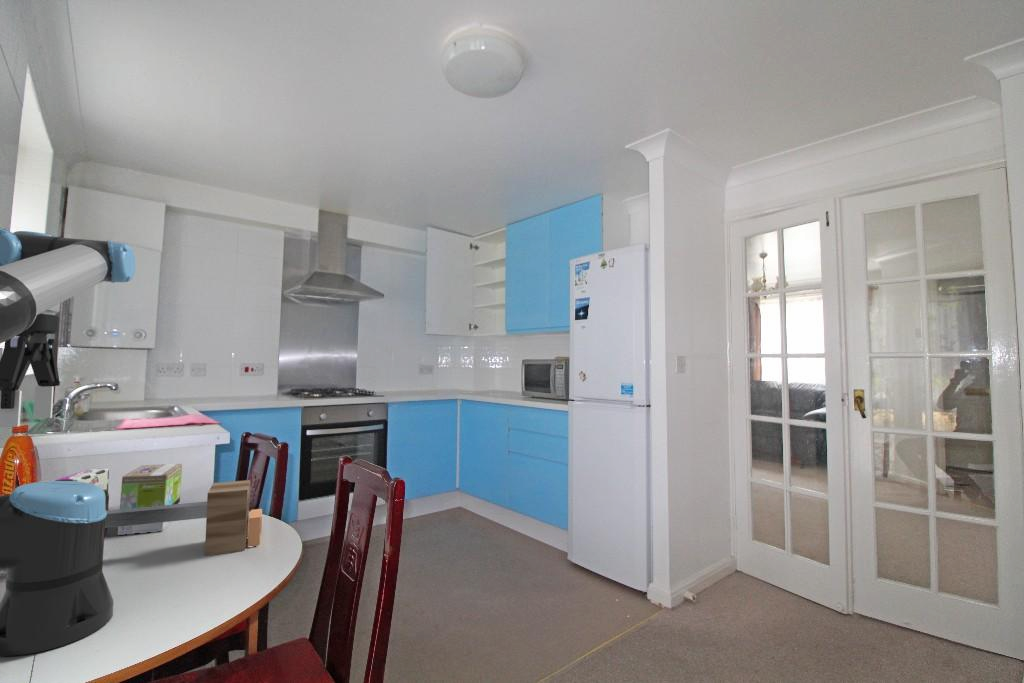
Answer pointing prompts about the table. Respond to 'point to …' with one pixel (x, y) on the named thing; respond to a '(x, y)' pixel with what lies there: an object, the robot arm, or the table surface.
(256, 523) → the spacer
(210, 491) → the bearing block
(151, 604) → the table surface
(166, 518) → the shaft
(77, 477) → the candy bar box
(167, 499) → the tea box
